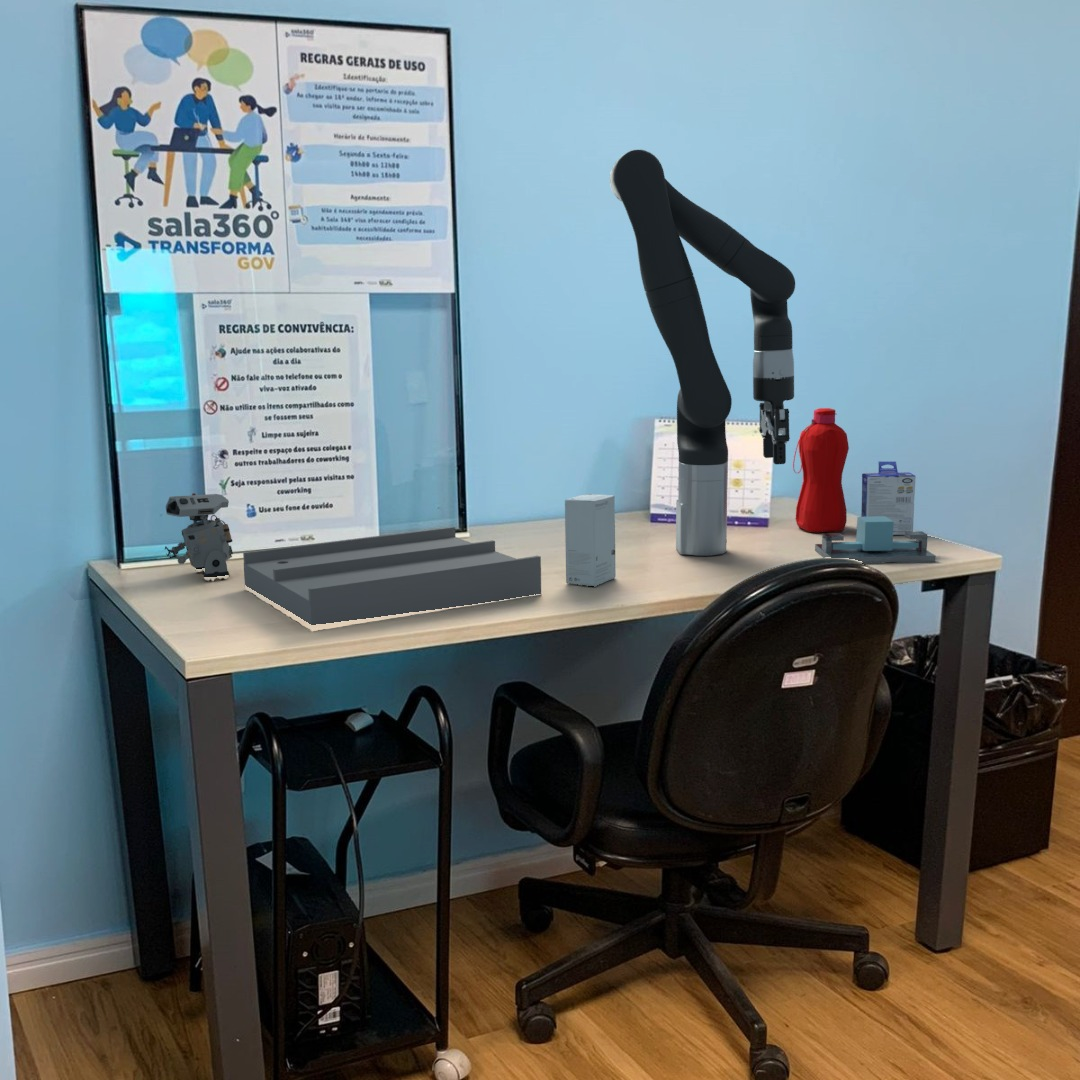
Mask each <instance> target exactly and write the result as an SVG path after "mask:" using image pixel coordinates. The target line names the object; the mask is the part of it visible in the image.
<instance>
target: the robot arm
mask: <svg viewBox="0 0 1080 1080" xmlns="http://www.w3.org/2000/svg"><path fill="white" fill-rule="evenodd" d="M664 171H665V170H664V168H663V165H662V163H661V162H660V160H659V158H658V157H656V156H655V154H653V153H652V152H650V151H647V150H646V149H645V150H644V149H638V148H637V149H633V150H632V149H631V150H630V151H629V150H628V151H627V152H626V153H624V154H623V155H621V156H620V157H619V158H618V159H617V160H616V161H615V163H614V164H613V166H612V168H611V170H610V174H609V185H610V189H611V191H612V193H613V195H614V196H615V197H616V199H617V200H619V201H620V202H621V203H622V204H623V207H624V208H625V211H626V214H627V216H628V219H629V223H630V224H631V227H632V229H633V230H632V231H633V233H634V237H635V242H636V249H637V257H638V265H639V271H640V277H641V281H642V286H643V290H644V292H645V295H646V299H647V302H648V306H649V309H650V312H651V315H652V318H653V321H654V322H655V324H656V327H657V328H658V329H657V330H658V331H659V333H660V335H661V337H662V339H663V341H664V343H665V345H666V347H667V349H668V351H669V353H670V355H671V357H672V360H673V362H674V366H675V370H676V375H677V378H678V383H679V386H680V387H679V390H678V393H677V400H676V444H677V451H678V484H677V485H678V487H677V488H678V491H677V492H678V493H677V494H678V496H677V497H678V498H677V499H676V503H675V504H676V506H675V509H676V510H675V512H676V513H675V516H676V517H675V549H676V550H677V552H678V553H679V554H680V555H690V556H703V557H704V556H705V557H706V556H707V557H708V556H719V555H722V554H725V553H726V552H727V544H728V543H727V541H728V540H727V537H728V535H727V533H728V530H727V529H728V527H727V525H728V484H729V483H728V482H729V481H728V476H729V475H728V472H729V471H728V470H729V446H728V444H727V437H726V420H727V418H728V417H729V415H730V412H731V409H732V403H733V401H732V400H733V399H732V394H731V392H730V389H729V387H728V385H727V382H726V380H725V378H724V375H723V373H722V371H721V369H720V366H719V364H718V361H717V359H716V355H715V353H714V350H713V347H712V344H711V340H710V339H711V338H710V334H709V330H708V324H707V320H706V316H705V313H704V308H703V304H702V300H701V296H700V292H699V289H698V285H697V282H696V279H695V276H694V272H693V270H692V266H691V264H690V261H689V258H688V255H687V253H686V250H685V247H684V245H683V242H682V239H683V240H684V241H685V242H687V244H688V245H690V247H692V248H693V249H694V250H696V251H697V252H698V253H700V254H701V255H702V256H703V257H705V258H706V259H707V260H709V262H711V263H712V264H714V265H715V266H716V267H717V268H719V269H720V270H721V271H722V272H724V273H726V274H727V275H729V276H730V277H733V278H736V279H738V280H739V281H741V282H742V283H743V284H744V285H745V286H747V287H748V288H749V293H750V304H751V312H752V319H753V325H754V326H753V327H754V328H753V359H752V389H753V390H752V391H753V392H752V394H753V395H752V397H753V400H754V401H757V402H759V405H758V407H759V428H758V430H759V434H760V436H761V437H762V444H763V445H762V450H763V453H762V454H763V455H762V456H763V457H764V458H765V459H771V458H772V462H773V464H774V465H784V464H786V462H787V461H786V460H787V454H786V452H787V451H786V450H787V449H786V444H787V443H788V442H790V438H791V437H790V410H789V408H785V406H784V401H791V400H794V398H795V361H794V360H795V359H794V353H793V327H792V326H793V325H792V322H791V320H790V318H789V314H788V313H789V311H788V310H789V309H788V300H789V299H790V298H791V297H792V295H793V294H794V293H795V290H796V279H795V277H794V273H793V272H792V270H790V269H789V268H788V267H787V266H786V265H784V264H783V263H782V262H781V261H780V260H778V259H776V258H775V257H773V256H772V255H770V254H768V253H766V252H765V251H763V250H761V249H760V248H758V247H756V246H755V245H754V244H753V243H752V242H751V241H750V240H749V239H748V238H747V237H745V236H744V235H743V234H741V233H740V232H738V231H737V230H736V229H735V228H733V226H731V225H730V224H729V223H727V222H726V221H725V220H723V219H721V218H719V217H718V216H716V215H715V214H713V213H711V212H710V211H708V210H706V209H704V208H703V207H701V206H699V205H698V204H696V203H695V202H693V201H692V200H691V199H689V198H687V196H685V195H683V194H682V193H681V192H680V191H678V189H676V188H675V187H674V186H673V184H671V183H670V182H669V181H668V180H667V179H666V178H665V172H664Z"/></svg>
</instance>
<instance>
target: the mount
mask: <svg viewBox="0 0 1080 1080" xmlns="http://www.w3.org/2000/svg"><path fill="white" fill-rule="evenodd" d="M821 534H822V535H821V543H815V544H814V551H815V552H816V553H818V554H819V555H820V556H821V557H823V558H824V557H831V558H849V559H855V560H858V561H862V562H863V563H866V564H883V563H882V562H917V563H936V559H937V556H936V555H935V554H934V553H932V552H930V551H929V550H928V549H927V548H928V533H926V532H924V531H923V530H922V531H913V532H905V535H904V536H905V538H907V539H909V540H915V541H917V542H918V543H919V546H918V548H892V550H885V551H864V550H862V549H842V550H833V549H832V542H845V541H844V537H845V536H844V535H843V534H841V533H840V532H821ZM928 561H929V562H928Z"/></svg>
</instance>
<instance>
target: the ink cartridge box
mask: <svg viewBox="0 0 1080 1080" xmlns="http://www.w3.org/2000/svg"><path fill="white" fill-rule="evenodd" d="M886 465H888V466H892V467H893V468H889V467H887V468H883V466H886ZM915 491H916V475H915V474H913V473H912V472H906V471H905V472H899V471H898V466H897V461H878V472H873V473H870V472H869V473H867V472H866V473H861V516H860V517H876V516H885V517H887V518H889V519H890V520H892V521H894V525H893V536H897V535H898V536H901V535H902V536H905V532H914V513H915Z"/></svg>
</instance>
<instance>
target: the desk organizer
mask: <svg viewBox="0 0 1080 1080" xmlns="http://www.w3.org/2000/svg"><path fill="white" fill-rule="evenodd" d="M242 554H243V555H242V556H243V557H242V558H243V575H244V576H243V578H244V586H245V585H246V586H247V587H249V588H251V589H252V590H254V591H256V592H257V593H259V594H261V595H263V596H264V597H266V598H268V599H269V600H271V601H273V602H274V603H276V604H278V605H280V606H281V607H283V608H285V609H286V610H288V611H290V612H292V613H293V614H295V615H296V616H298V617H300V618H301V619H303V620H304V621H306V622H308V623H309V624H311V625H316V624H326V623H334V622H341V621H349V620H357V619H366V618H374V617H381V616H388V615H396V614H403V613H409V612H419V611H426V610H435V609H442V608H449V607H456V606H464V605H472V604H478V603H485V602H491V601H499V600H504V599H510V598H516V597H522V596H529V595H534V594H535V595H536V594H541V595H542V564H541V563H542V561H541V560H542V559H541V557H542V556H539V555H534V556H533V555H532V556H527V557H519V558H516V557H513V556H510V555H506V554H505V553H503V552H502V553H501V552H499V551H497V550H496V541H495V540H493V539H492V540H486V541H485V540H484V541H483V540H482V541H477V542H470V541H468V540H465V539H463V538H459V537H456V526H448V527H440V528H432V529H431V528H430V529H423V530H414V531H408V532H400V533H399V532H397V533H392V534H391V533H390V534H381V535H374V536H366V537H365V536H364V537H359V538H350V539H343V540H342V539H341V540H334V541H327V542H326V541H325V542H318V543H309V544H308V543H307V544H302V545H301V544H300V545H294V546H293V545H292V546H286V547H276V548H269V549H260V550H251V551H243V553H242Z"/></svg>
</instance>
